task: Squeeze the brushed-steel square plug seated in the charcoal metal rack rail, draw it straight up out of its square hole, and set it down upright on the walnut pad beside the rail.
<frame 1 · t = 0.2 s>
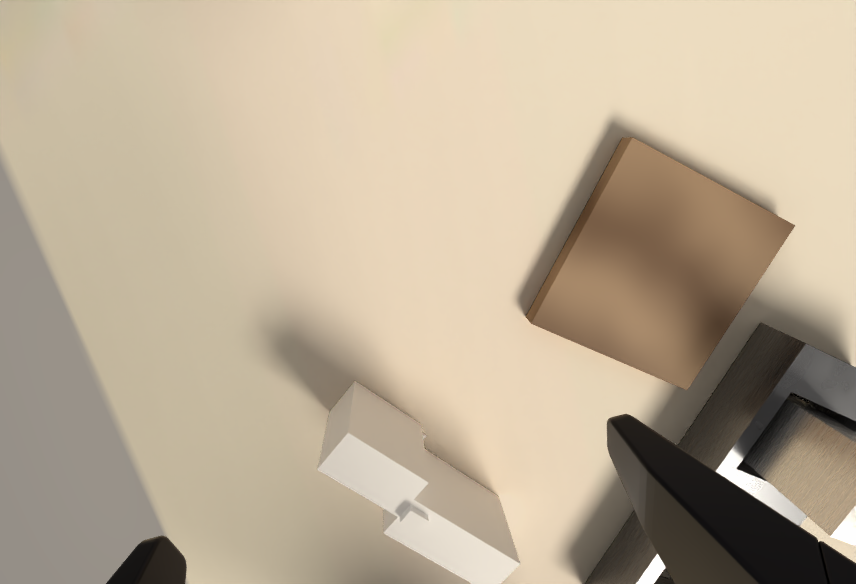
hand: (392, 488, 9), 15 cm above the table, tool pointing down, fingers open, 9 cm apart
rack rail: (710, 482, 29), on the table
steel plug: (756, 415, 28), resting in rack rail
walnut pad: (651, 270, 25), on the table
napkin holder: (418, 439, 28), on the table
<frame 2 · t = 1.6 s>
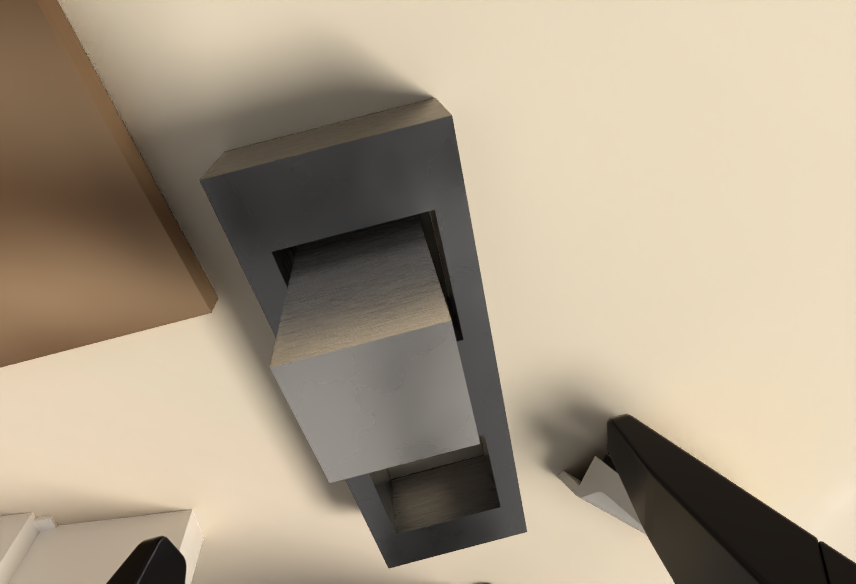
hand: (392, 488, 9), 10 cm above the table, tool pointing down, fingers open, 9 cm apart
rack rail: (403, 358, 21), on the table
steel plug: (372, 257, 18), resting in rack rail
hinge: (683, 481, 29), on the table
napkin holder: (67, 513, 23), on the table
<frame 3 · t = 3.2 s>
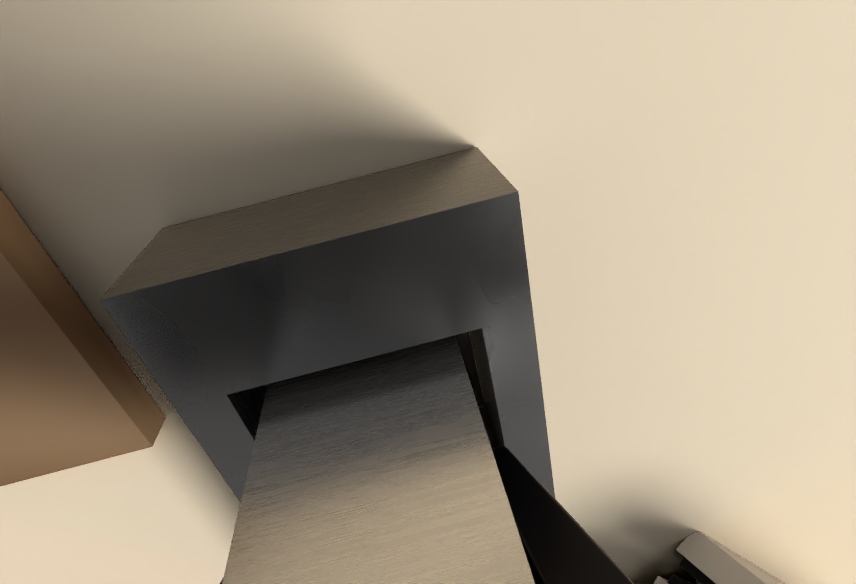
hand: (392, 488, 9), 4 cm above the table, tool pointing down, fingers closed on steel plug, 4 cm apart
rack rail: (421, 476, 15), on the table
steel plug: (380, 360, 13), resting in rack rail, touching gripper
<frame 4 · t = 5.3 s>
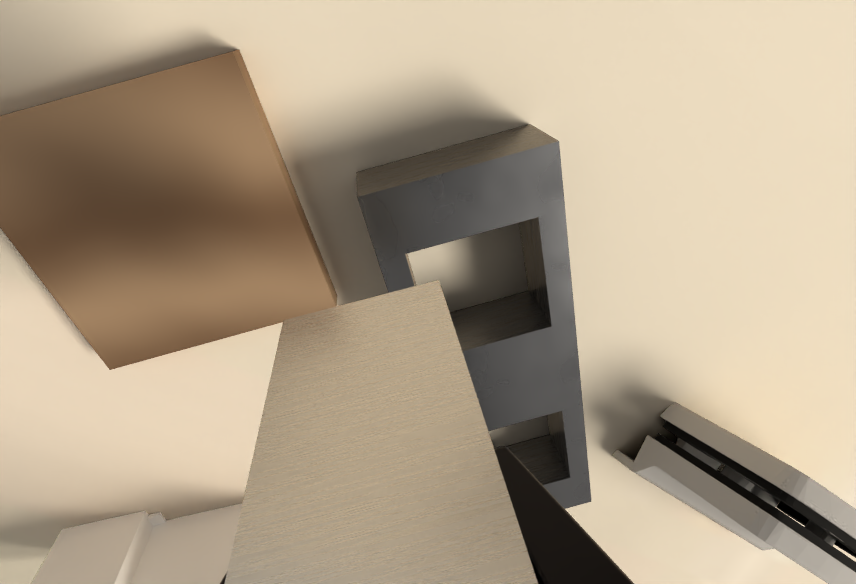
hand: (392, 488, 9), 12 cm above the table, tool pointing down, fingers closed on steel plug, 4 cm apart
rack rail: (486, 346, 24), on the table
steel plug: (382, 360, 13), point 8 cm above the table, touching gripper
walnut pad: (171, 223, 18), on the table
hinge: (724, 460, 32), on the table
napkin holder: (173, 509, 27), on the table
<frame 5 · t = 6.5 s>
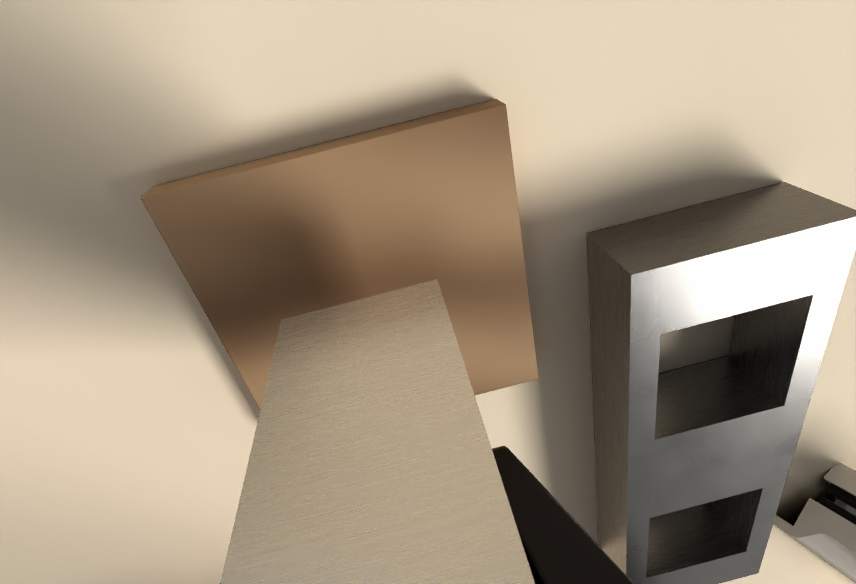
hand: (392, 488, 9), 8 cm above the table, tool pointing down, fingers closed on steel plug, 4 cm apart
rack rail: (669, 411, 21), on the table
steel plug: (380, 360, 13), point 4 cm above the table, touching gripper
walnut pad: (373, 288, 16), on the table
when the fingers open (6 cm above the table, at t = 7.5 s): steel plug drops 1 cm, resting on walnut pad.
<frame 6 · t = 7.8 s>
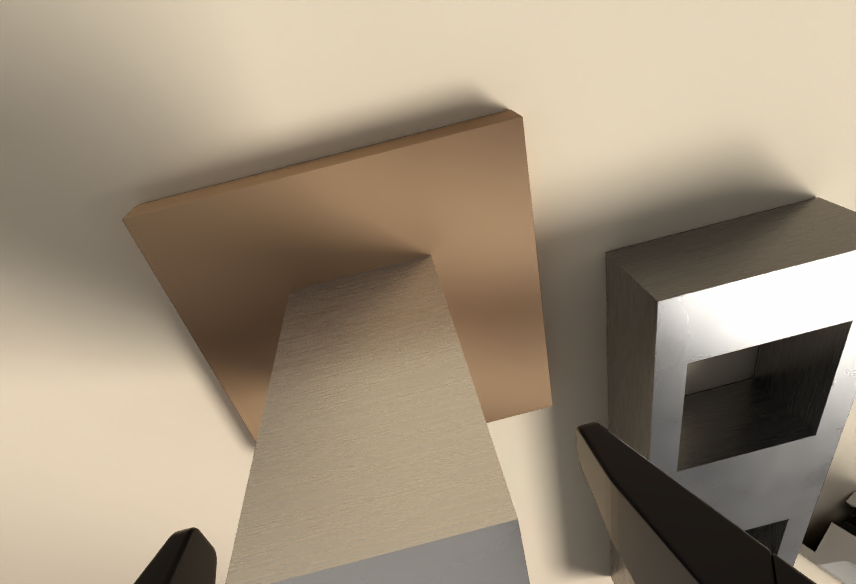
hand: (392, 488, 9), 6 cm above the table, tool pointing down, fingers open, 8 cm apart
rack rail: (688, 435, 20), on the table
steel plug: (379, 329, 14), point 1 cm above the table, touching walnut pad
walnut pad: (376, 311, 15), on the table
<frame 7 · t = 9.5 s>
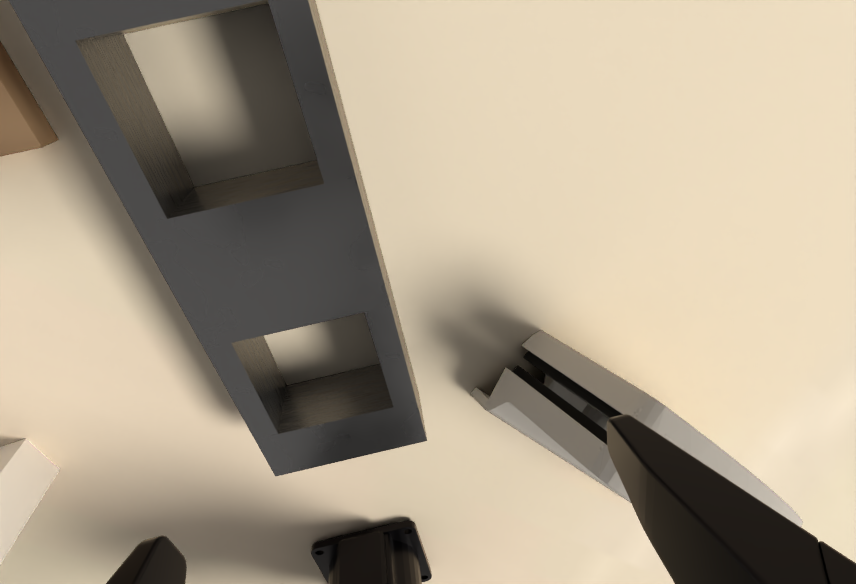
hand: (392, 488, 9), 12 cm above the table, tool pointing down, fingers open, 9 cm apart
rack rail: (284, 233, 19), on the table
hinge: (610, 409, 27), on the table
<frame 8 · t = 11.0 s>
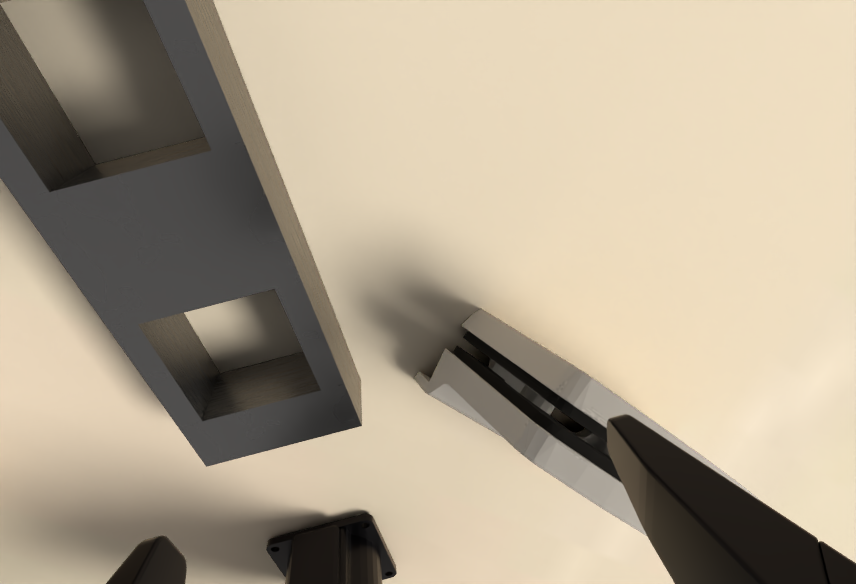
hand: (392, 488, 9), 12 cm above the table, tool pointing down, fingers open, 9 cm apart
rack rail: (197, 211, 18), on the table
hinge: (567, 392, 26), on the table
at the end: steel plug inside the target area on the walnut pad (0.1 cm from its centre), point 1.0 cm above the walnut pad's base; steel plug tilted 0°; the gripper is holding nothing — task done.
